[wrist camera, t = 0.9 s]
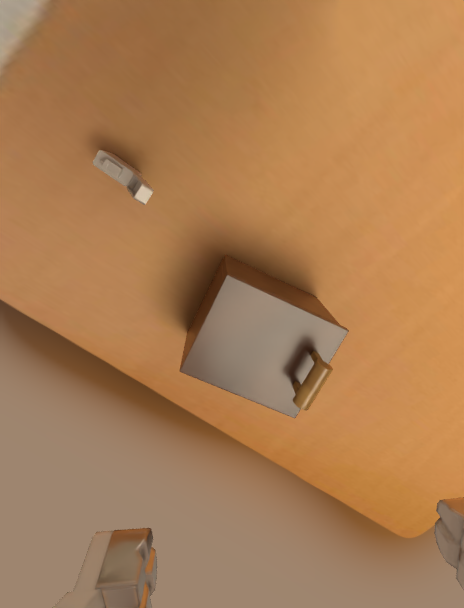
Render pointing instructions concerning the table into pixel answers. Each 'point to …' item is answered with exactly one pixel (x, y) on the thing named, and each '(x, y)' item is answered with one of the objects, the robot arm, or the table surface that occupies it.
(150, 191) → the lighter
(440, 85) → the table surface
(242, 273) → the chest
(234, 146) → the table surface
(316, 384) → the lid
